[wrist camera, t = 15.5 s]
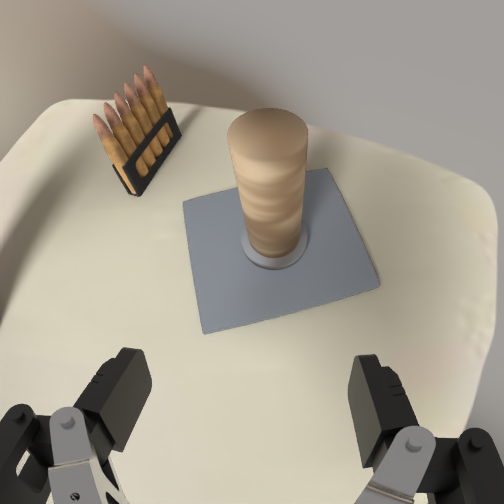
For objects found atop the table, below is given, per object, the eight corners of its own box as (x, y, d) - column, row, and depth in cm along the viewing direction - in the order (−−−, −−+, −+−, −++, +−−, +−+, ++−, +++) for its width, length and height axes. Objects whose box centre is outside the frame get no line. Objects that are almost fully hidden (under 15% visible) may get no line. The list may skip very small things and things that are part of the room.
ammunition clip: (140, 197, 32) (94, 121, 22) (128, 194, 33) (81, 121, 22) (181, 135, 37) (156, 60, 26) (170, 134, 37) (143, 61, 26)
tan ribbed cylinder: (250, 277, 26) (224, 180, 14) (236, 221, 29) (209, 113, 17) (315, 260, 26) (337, 156, 15) (295, 207, 29) (299, 96, 17)
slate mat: (204, 334, 25) (202, 333, 24) (184, 205, 31) (182, 201, 30) (378, 287, 25) (380, 284, 25) (326, 171, 31) (327, 167, 31)
